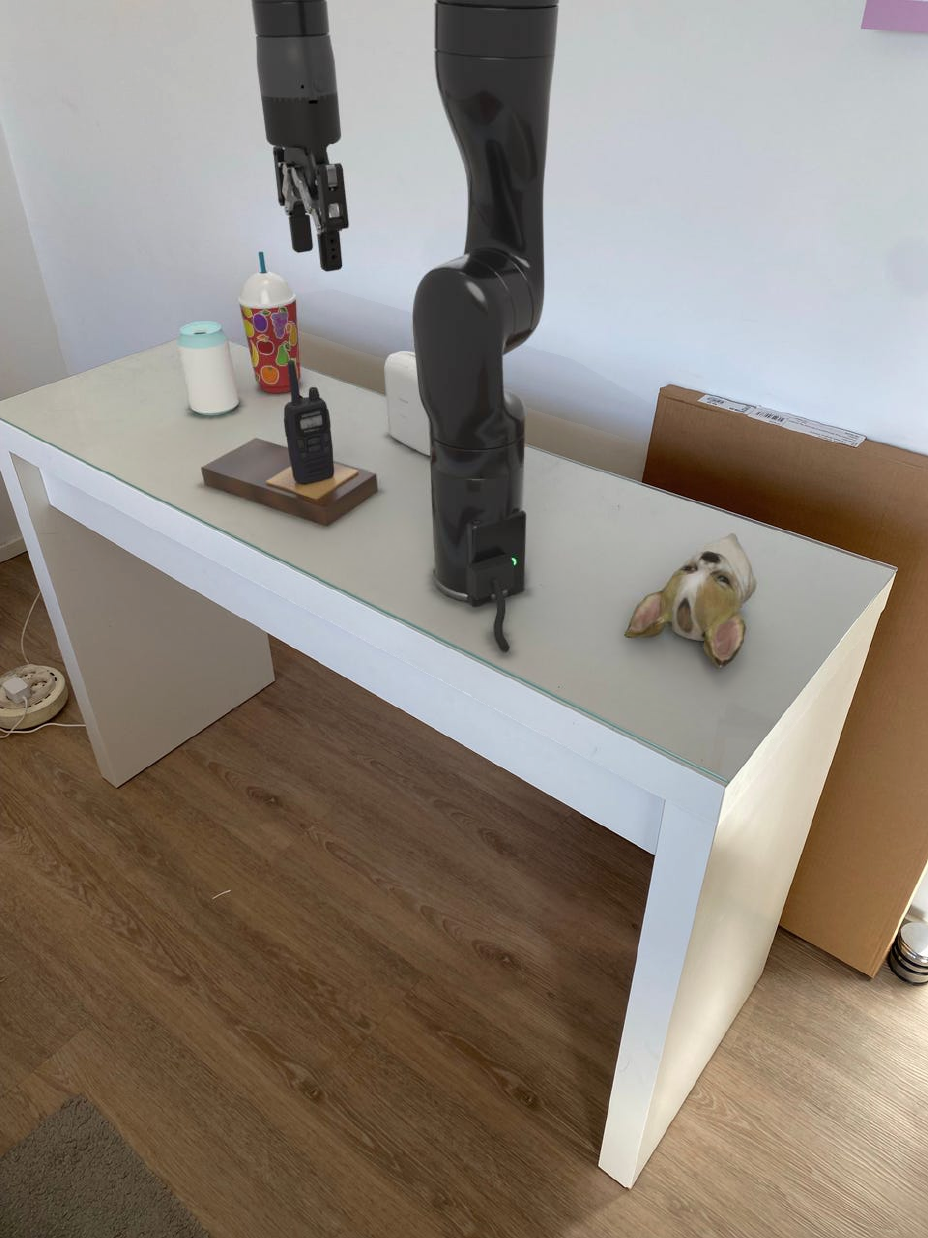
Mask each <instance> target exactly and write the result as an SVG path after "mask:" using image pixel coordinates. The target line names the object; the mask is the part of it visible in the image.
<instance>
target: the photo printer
mask: <svg viewBox="0 0 928 1238" xmlns="http://www.w3.org/2000/svg"><path fill="white" fill-rule="evenodd" d="M384 362H385V363H384V367H383V368H384V369H383V374H384V385H385V386H384V389H385V400H386V412H387V413H386V414H387V425H388V432H389V435H390V436H391V437H392V438H393V439H395V440H397V441H398V442H400V443H402V444H404V445H405V446H408V447H409V448H411V449H413V450H415V451H417V452H419V453H421V454H422V455H426V456H429V457H430V440H429V420H428V416H427V414H426V412H425V410H424V407H423V405H422V402H421V399H420V395H419V388H418V379H417V369H416V358H415V351H410V350H409V351H408V350H401V351H396V352H393V353H390V354H388V356H387V358H386V360H385V361H384Z"/></svg>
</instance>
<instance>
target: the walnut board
mask: <svg viewBox="0 0 928 1238" xmlns="http://www.w3.org/2000/svg"><path fill="white" fill-rule="evenodd" d="M333 463H334V475H333V476H332V477H330V478H327V479H323V480H320V481H316V482H312V483H308V484H300V483H298V482H296V481H295V480H294V478H293V474H292V468H291V462H290V457H289V451H288V446H285V445H281V444H278V443H275V442H271V441H268V440H264V439H261V438H257V437H254V438H253V439H251V440H249V441H247V442H245V443H243V444H242V445H240V446H237V447H236V448H235V449H232V450H231V451H229V452H227V453H225V454H224V455H221V456H220V457H218V458H216V459H214V460H212V461H210V462H209V463H208V462H207V464H205V465H203V466H201V467H200V470H201V474H202V478H203V484H204V486H207V487H209V488H212V489H215V490H219V491H221V492H224V493H227V494H230V495H233V496H236V497H239V498H242V499H245V500H248V501H251V502H254V503H257V504H260V505H263V506H265V507H267V508H272V509H275V510H277V511H280V512H284V513H287V514H290V515H292V516H295V517H299V518H301V519H304V520H308V521H310V522H313V523H316V524H319V525H322V526H325V527H328V526H330V525H331V524H332V523H334V522H335V521H337V520H339V519H340V518H342V517H343V516H345V515H346V514H348V513H349V512H350V511H352V510H353V509H354V508H356V507H357V506H359V505H360V504H362V503H363V502H364V501H365V500H368V499H369V498H370V497H372V496H373V495H374V494H376V493H378V491H379V489H378V488H379V487H378V478H377V477H378V476H377V473H376V472H373V471H369V470H366V469H363V468H359V467H355V466H353V465H348V464H345V463H342V462H338V461H336V460H333Z"/></svg>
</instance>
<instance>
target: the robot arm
mask: <svg viewBox="0 0 928 1238" xmlns="http://www.w3.org/2000/svg"><path fill="white" fill-rule="evenodd" d="M250 1H251V9H252V17H253V24H254V32H255V35H256V36H255V41H256V42H255V43H256V69H257V76H258V77H257V78H258V84H259V92H260V100H261V107H262V115H263V123H264V130H265V138H266V141H267V143H268V144H270V145H271V146H273V148H272V155H273V163H274V172H275V183H276V190H277V202H278V204H279V206H280V207H284V208H283V209H284V213H285V215H286V216H287V217H288V224H289V232H290V239H291V240H290V241H291V248H292V250H293V251H294V252H295V253H297V254H298V253H306V252H307V253H308V252H311V251H312V250H313V248H314V241H313V233H312V232H313V231H312V225H311V217H312V219H313V222H314V226H315V229H316V231H317V233H316V237H317V248H318V256H319V257H318V258H319V265H320V266H319V267H320V269H321V270H322V271H323V272H335V271H339V270H341V269H342V267H343V257H342V255H343V254H342V246H341V245H342V243H341V234H340V232H342V231H343V230H345V229H346V230H347V229H349V227H350V222H349V221H350V220H349V213H348V203H347V195H346V193H347V192H346V183H345V176H344V168H343V165H342V163H341V162H336V163H330V159H329V155H328V151H327V148H328V147H329V146H330V145H335V144H337V143H338V142H339V141H340V140H341V138H342V128H341V127H342V126H341V118H340V117H341V115H340V104H339V92H338V82H337V80H338V79H337V71H336V70H337V69H336V60H335V55H334V51H333V45H332V39H331V34H330V33H331V31H330V21H329V9H328V0H250ZM559 4H560V0H434V7H433V8H434V10H433V11H434V12H433V13H434V14H433V16H434V19H433V21H434V23H433V24H434V27H433V28H434V29H433V33H434V34H433V35H434V36H433V48H434V49H433V61H434V62H433V63H434V73H435V74H434V75H435V82H436V86H437V90H438V94H439V97H440V102H441V106H442V108H443V112H444V114H445V117H446V120H447V123H448V126H449V128H450V131H451V134H452V137H453V138H454V141H455V144H456V146H457V149H458V151H459V155H460V158H461V162H462V164H463V169H464V174H465V179H466V189H467V191H466V193H467V195H466V196H467V213H466V214H467V215H466V216H467V217H466V233H465V242H464V249H463V254H462V255H461V256H458V257H455V258H454V259H450V260H448V261H446V262H444V263H442V264H439V265H437V266H435V267H433V268H432V269H430V270H429V271H427V272H426V273H425V274H424V276H423V277H422V278H421V280H420V281H419V283H418V285H417V286H416V287H417V288H416V291H415V293H414V297H413V304H412V335H413V336H412V338H413V346H414V353H415V358H416V369H417V379H418V388H419V395H420V399H421V402H422V405H423V407H424V410H425V412H426V414H427V416H428V420H429V440H430V456H429V463H430V464H429V465H430V466H429V468H430V492H431V493H430V494H431V514H432V515H431V516H432V539H433V540H432V541H433V542H432V543H433V558H434V559H433V560H434V568H433V581H434V585H435V586H436V587H437V589H438V590H439V591H440V592H441V593H443V594H444V595H446V596H447V597H449V598H452V599H455V600H457V601H461V602H466V603H468V604H469V605H470V606H471V607H473V608H476V607H479V606H482V605H485V604H488V603H490V602H495V603H496V614H495V618H494V623H493V636H494V638H495V641H496V643H497V645H498V646H499V648H500V651H501V652H503V653H504V652H505V653H506V652H508V651H509V650H510V646H509V644H508V642H507V640H506V638H505V636H504V632H503V627H504V626H503V625H504V621H505V616H506V600H505V598H507V597H510V596H513V595H517V594H519V593H522V592H524V591H525V575H526V574H525V572H526V571H525V570H526V540H527V539H526V538H527V513H526V512H525V510H524V479H525V478H524V477H525V476H524V475H525V474H524V473H525V472H524V471H525V445H526V406H525V403H524V400H522V397H520V396H519V395H518V394H517V393H516V392H514V391H513V390H510V389H508V388H505V383H504V356H505V355H507V354H508V353H510V352H513V351H514V350H515V349H518V348H519V347H521V346H522V345H523V344H525V343H526V342H527V341H528V340H529V339H530V338H531V337H532V335H533V334H534V333H535V332H536V330H537V327H538V325H539V324H540V321H541V318H542V315H543V310H544V305H545V288H546V287H545V285H546V283H545V282H546V281H545V279H546V276H545V272H546V271H545V230H544V229H545V227H544V226H545V225H544V224H545V223H544V193H545V192H544V190H545V189H544V188H545V176H546V175H545V174H546V166H547V165H546V164H547V155H548V153H547V152H548V139H549V123H550V107H551V93H552V81H553V73H554V66H555V58H556V57H555V55H556V46H557V35H558V34H557V33H558V21H559V9H560V8H559V7H560V6H559Z"/></svg>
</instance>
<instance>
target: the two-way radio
mask: <svg viewBox="0 0 928 1238" xmlns="http://www.w3.org/2000/svg"><path fill="white" fill-rule="evenodd" d="M288 372H289V382H290V391H289V392H290V401H289V402H287V403H285V405H284V408H283V417H284V418H283V424H284V425H283V426H284V434H285V437H286V443H287V447H288V451H289V457H290V462H291V468H292V474H293V478H294V480H295V481H296V482H298V483H300V484H308V483H312V482H316V481H320V480H323V479H327V478H330V477H332V476H333V475H334V463H333V461H334V450H333V439H332V431H331V429H332V426H331V418H330V411H329V409H328V405H327V402H326V401H325V400H324V399H323V398H322V397H320V396H321V395H320V392H319V389H318V388H317V386H311V387H309V389H308V397H307V396H306V397H303V396H302V395H301V394H300V387H299V380H297V374H296V368H295V362H294V361H293V360H290V361H288Z"/></svg>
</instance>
